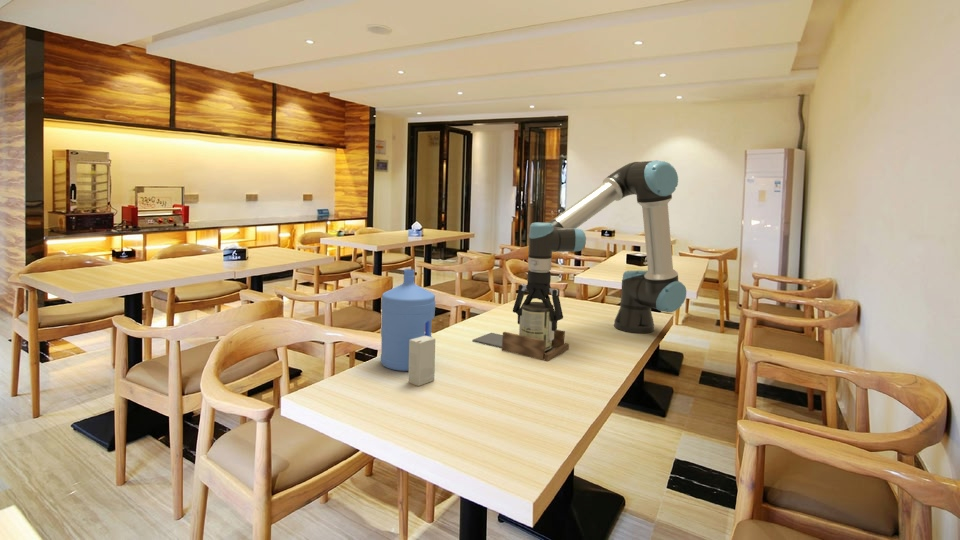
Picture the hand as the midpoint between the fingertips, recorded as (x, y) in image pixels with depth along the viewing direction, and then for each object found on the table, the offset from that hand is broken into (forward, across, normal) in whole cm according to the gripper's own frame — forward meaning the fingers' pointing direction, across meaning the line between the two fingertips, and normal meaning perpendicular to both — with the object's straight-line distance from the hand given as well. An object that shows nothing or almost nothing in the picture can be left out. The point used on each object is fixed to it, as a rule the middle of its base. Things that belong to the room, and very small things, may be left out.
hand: (536, 336), depth 173 cm
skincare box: (+4, -10, -46) cm, 48 cm away
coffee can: (+4, 0, 0) cm, 4 cm away
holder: (+4, 0, 0) cm, 4 cm away
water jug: (+4, -23, -37) cm, 44 cm away
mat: (+4, -15, 0) cm, 16 cm away
